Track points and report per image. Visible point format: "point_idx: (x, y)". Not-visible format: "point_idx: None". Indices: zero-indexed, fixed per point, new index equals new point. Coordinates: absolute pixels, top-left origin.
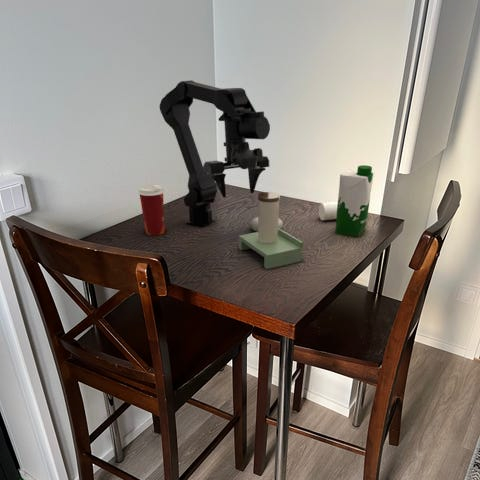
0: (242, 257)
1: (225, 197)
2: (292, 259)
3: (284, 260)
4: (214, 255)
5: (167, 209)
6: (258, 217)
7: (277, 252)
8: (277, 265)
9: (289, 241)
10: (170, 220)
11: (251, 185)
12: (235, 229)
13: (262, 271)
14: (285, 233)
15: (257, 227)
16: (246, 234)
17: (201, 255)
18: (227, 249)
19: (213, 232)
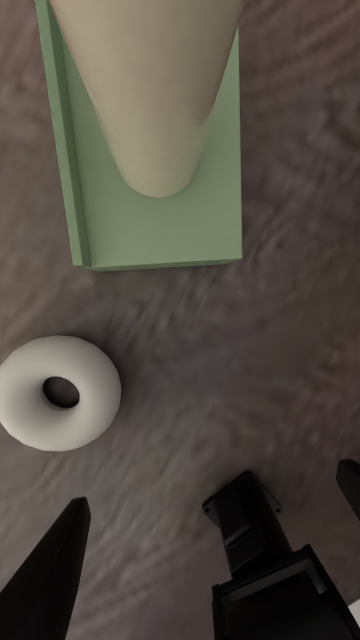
0: (246, 190)
1: (340, 460)
2: None
3: None
4: (314, 246)
5: None
6: (231, 48)
7: None
8: None
9: (70, 81)
10: (307, 543)
11: (54, 606)
12: (167, 420)
13: (240, 41)
14: (61, 111)
15: (110, 367)
16: (210, 255)
17: (346, 263)
18: (259, 274)
19: (239, 420)
